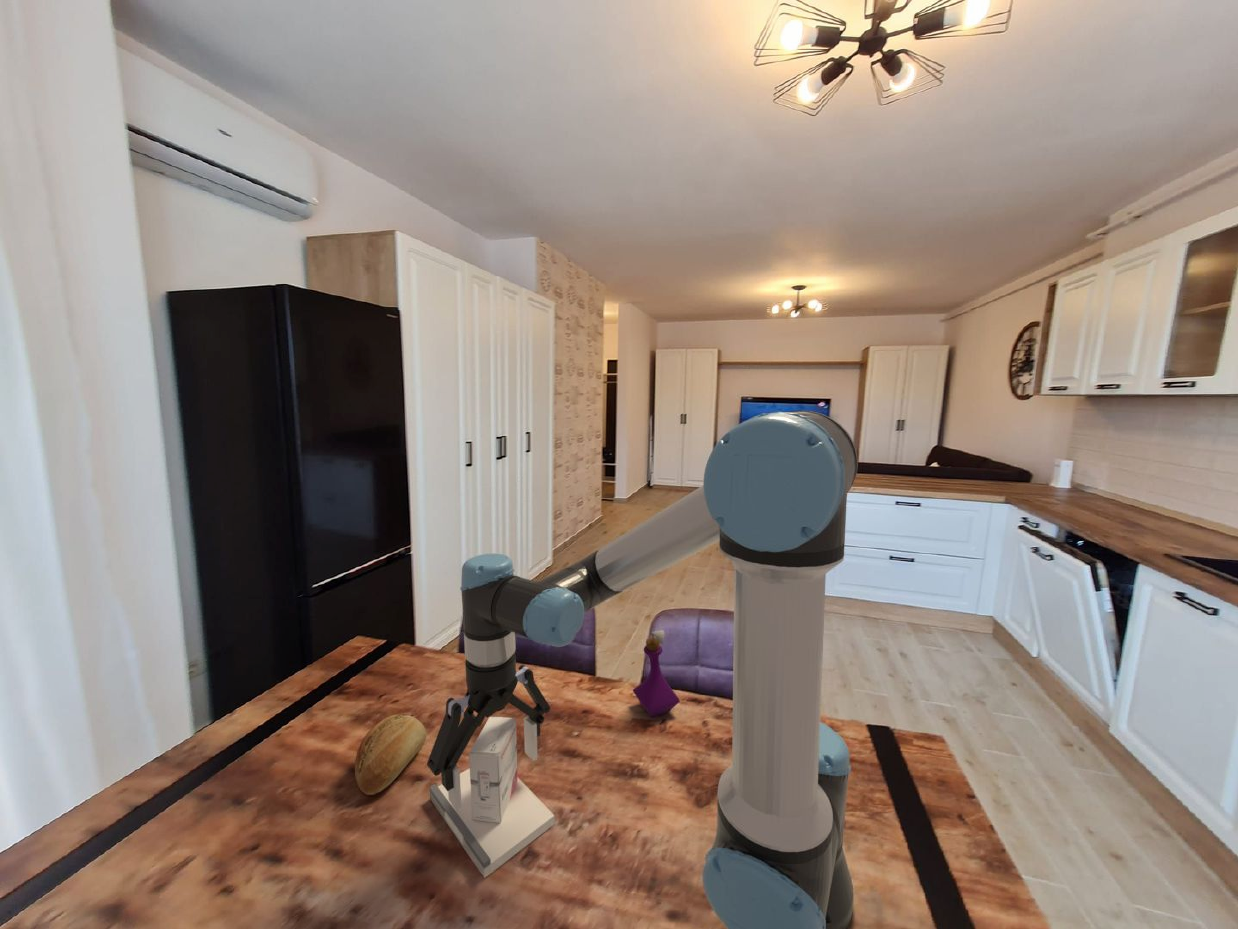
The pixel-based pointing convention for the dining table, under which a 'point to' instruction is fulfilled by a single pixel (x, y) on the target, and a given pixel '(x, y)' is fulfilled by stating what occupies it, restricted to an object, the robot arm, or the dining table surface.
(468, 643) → the robot arm
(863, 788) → the dining table surface
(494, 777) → the ink box
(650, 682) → the perfume bottle
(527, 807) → the white flat slab
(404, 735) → the bread roll
